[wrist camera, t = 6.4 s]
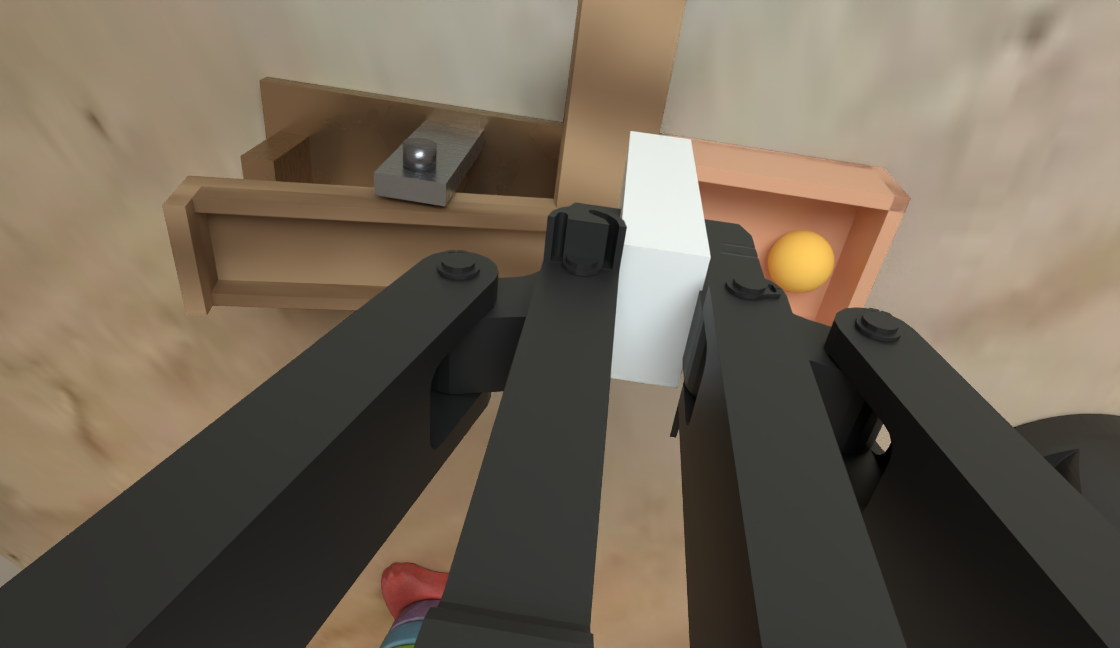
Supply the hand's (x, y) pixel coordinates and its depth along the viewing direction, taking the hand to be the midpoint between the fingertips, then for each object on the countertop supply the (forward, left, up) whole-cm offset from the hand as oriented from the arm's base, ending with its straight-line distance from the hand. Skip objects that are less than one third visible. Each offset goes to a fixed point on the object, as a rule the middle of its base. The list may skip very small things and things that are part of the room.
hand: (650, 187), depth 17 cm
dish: (-8, -7, -17) cm, 20 cm away
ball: (-8, -9, -15) cm, 20 cm away
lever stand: (-8, +9, -17) cm, 21 cm away
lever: (-4, +9, -11) cm, 15 cm away
